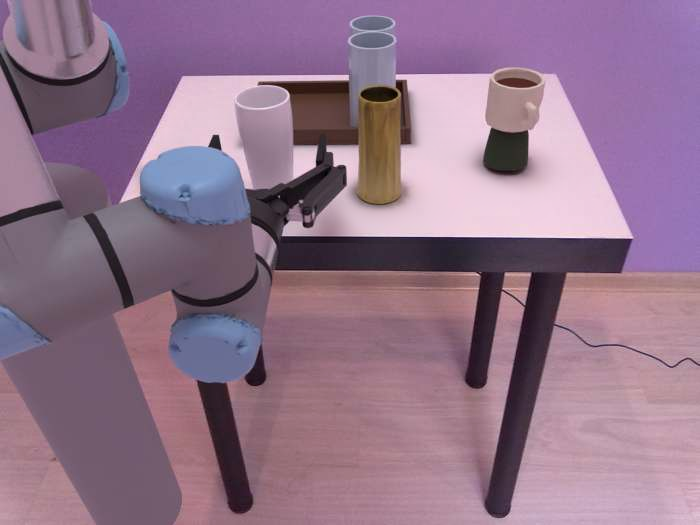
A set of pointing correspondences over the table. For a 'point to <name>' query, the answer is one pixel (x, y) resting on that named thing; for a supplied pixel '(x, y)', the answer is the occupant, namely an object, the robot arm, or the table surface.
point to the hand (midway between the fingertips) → (270, 143)
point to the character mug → (512, 116)
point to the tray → (331, 111)
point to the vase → (379, 144)
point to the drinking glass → (266, 134)
